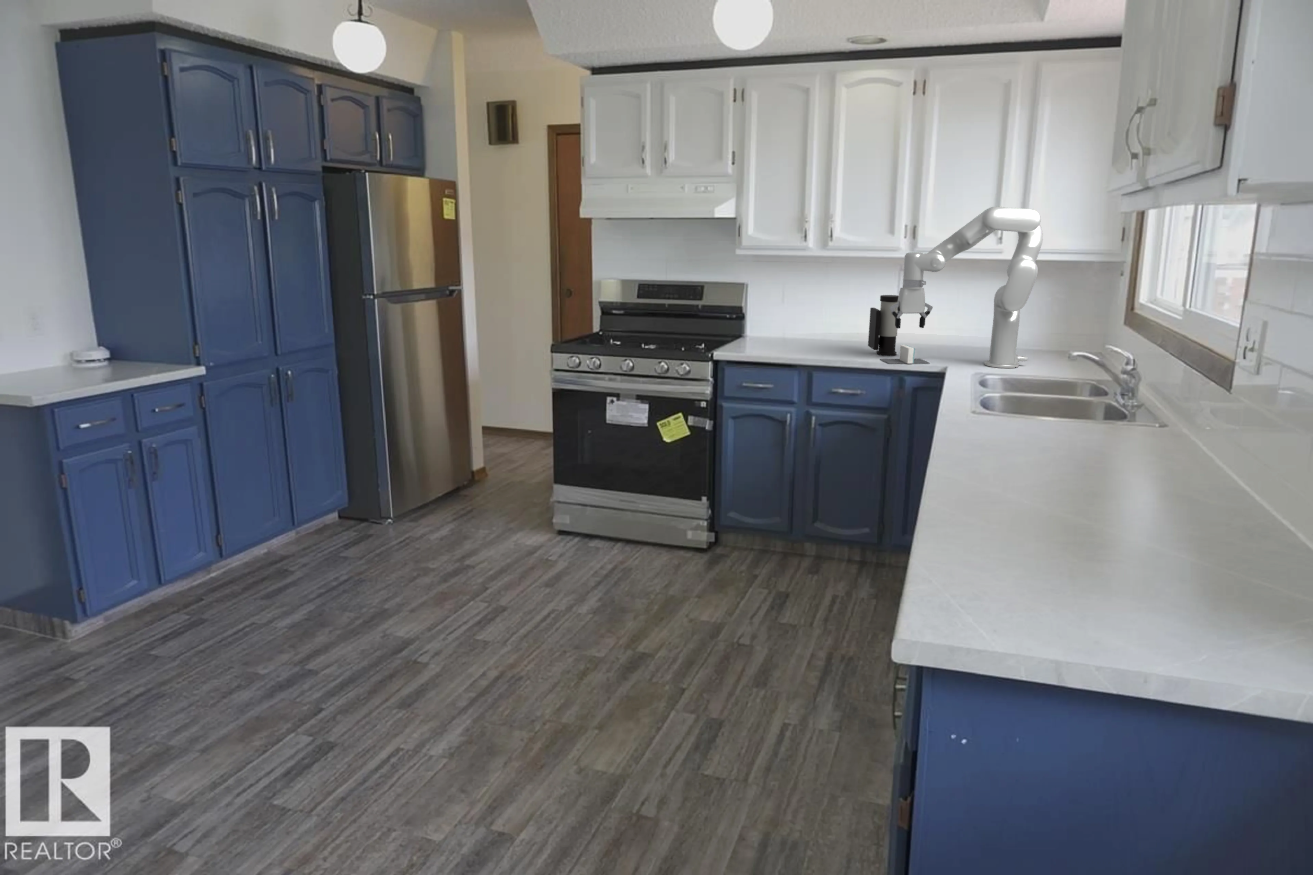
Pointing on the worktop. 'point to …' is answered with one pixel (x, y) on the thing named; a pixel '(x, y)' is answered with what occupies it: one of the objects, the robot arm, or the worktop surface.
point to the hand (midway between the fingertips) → (909, 327)
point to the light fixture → (883, 327)
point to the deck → (907, 354)
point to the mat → (897, 361)
